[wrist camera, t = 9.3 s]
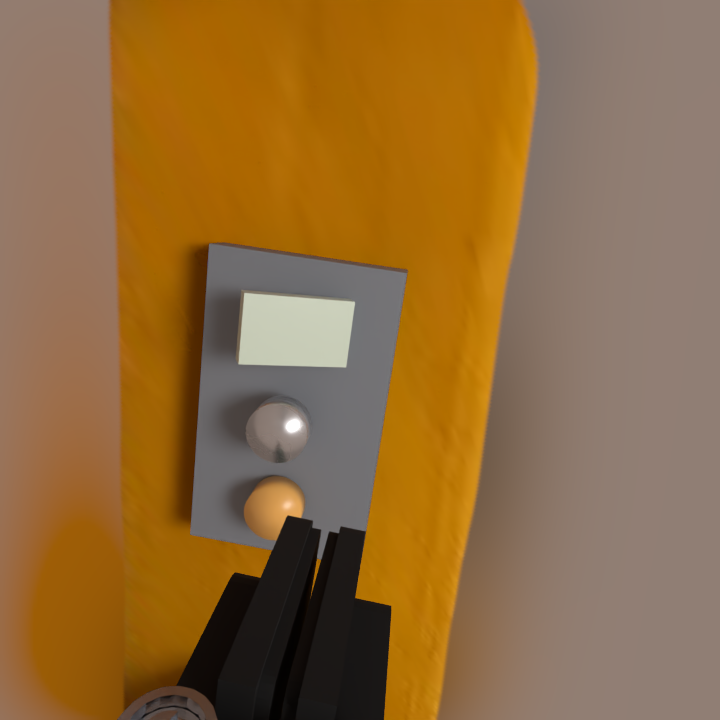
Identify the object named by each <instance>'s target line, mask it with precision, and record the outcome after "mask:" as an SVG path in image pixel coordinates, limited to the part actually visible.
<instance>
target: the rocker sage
mask: <svg viewBox="0 0 720 720" xmlns="http://www.w3.org/2000/svg"><path fill="white" fill-rule="evenodd" d="M354 307H355V302H354V301H353V300H351V299H346V298H334V297H322V296H310V295H298V294H286V293H273V292H261V291H249V290H241V301H240V313H239V325H238V337H237V350H236V361H237V363H238V364H243V365H278V366H312V367H346V365H347V358H348V350H349V343H350V336H351V328H352V321H353V314H354Z"/></svg>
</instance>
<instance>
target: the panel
mask: <svg viewBox="0 0 720 720" xmlns="http://www.w3.org/2000/svg"><path fill="white" fill-rule="evenodd" d="M407 272H408V270H405V269H398V268H391V267H385V266H378V265H371V264H365V263H358V262H351V261H345V260H338V259H331V258H324V257H318V256H311V255H304V254H298V253H291V252H284V251H277V250H271V249H264V248H257V247H251V246H244V245H237V244H230V243H210V244H209V254H208V269H207V284H206V300H205V315H204V331H203V346H202V362H201V377H200V392H199V408H198V423H197V439H196V454H195V470H194V485H193V501H192V516H191V531H190V535H195V536H200V537H205V538H211V539H216V540H221V541H227V542H232V543H237V544H242V545H248V546H253V547H258V548H263V549H269V550H273V548H274V545H275V543H276V541H277V540H267V539H264V538H261V537H259V536H258V535H256V534H255V533H254V532H253V531H252V530H251V529H250V528H249V527H248V525H247V523H246V521H245V518H244V506H245V503H246V501H247V500H248V498H249V496H250V495H251V493H252V492H253V490H254V489H255V487H256V486H257V484H258V483H259V482H260V481H262V480H263V479H265V478H267V477H271V476H282V477H286V478H288V479H290V480H292V481H294V482H295V483H296V484H297V485H298V486H299V487H300V488H301V490H302V492H303V494H304V496H305V509H304V512H303V515H302V517H301V518H303V519H308V520H313V527H312V528H316V529H321V537H320V543H319V549H318V555H317V559H322V555H323V552H324V548H325V544H326V541H327V537H328V533H329V531H331V532H336V533H339V530H340V527H341V526H342V527H347V528H352V529H357V530H361V531H366V528H367V522H368V516H369V509H370V503H371V497H372V491H373V484H374V478H375V472H376V466H377V459H378V453H379V447H380V440H381V434H382V428H383V422H384V415H385V409H386V403H387V397H388V390H389V384H390V378H391V372H392V365H393V359H394V353H395V347H396V340H397V334H398V328H399V322H400V315H401V309H402V303H403V297H404V290H405V284H406V278H407ZM241 290H249V291H261V292H273V293H286V294H298V295H310V296H322V297H334V298H346V299H351V300H353V301H354V302H355V307H354V314H353V321H352V328H351V336H350V343H349V350H348V358H347V365H346V367H312V366H278V365H243V364H238V363H237V361H236V350H237V337H238V325H239V313H240V301H241ZM280 395H283V396H289V397H292V398H295V399H297V400H298V401H300V402H301V403H302V404H303V405H304V406H305V407H306V408H307V410H308V411H309V413H310V415H311V419H312V432H311V435H310V437H309V439H308V441H307V443H306V445H305V446H304V448H303V450H302V452H301V453H300V454H299V455H298V456H297V457H296V458H294V459H293V460H291V461H288V462H285V463H272V462H269V461H266V460H264V459H262V458H260V457H259V456H258V455H256V454H255V453H254V452H253V450H252V449H251V448H250V446H249V444H248V442H247V438H246V425H247V422H248V420H249V418H250V416H251V415H252V414H253V413H254V412H255V411H256V410H257V408H258V407H259V406H260V405H261V404H262V403H263V402H264V401H265V400H267V399H269V398H271V397H274V396H280ZM365 534H366V533H365ZM364 541H365V539H364ZM363 547H364V546H363Z"/></svg>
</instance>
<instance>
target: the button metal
mask: <svg viewBox="0 0 720 720" xmlns="http://www.w3.org/2000/svg"><path fill="white" fill-rule="evenodd" d="M311 432H312V419H311V415H310V413H309V411H308V410H307V408H306V407H305V406H304V405H303V404H302V403H301V402H300V401H298V400H297V399H295V398H292V397H289V396H283V395H280V396H274V397H271V398H269V399H267V400H265V401H264V402H263V403H262V404H261V405H260V406H259V407H258V408H257V410H256V411H255V412H254V413H253V414H252V415H251V416H250V418H249V420H248V422H247V425H246V438H247V442H248V444H249V446H250V448H251V449H252V450H253V452H254V453H255V454H256V455H258V456H259V457H260V458H262V459H264V460H266V461H269V462H272V463H285V462H288V461H291V460H293V459H294V458H296V457H297V456H298V455H299V454H300V453H301V452H302V450H303V448H304V446H305V445H306V443H307V441H308V439H309V437H310V435H311Z"/></svg>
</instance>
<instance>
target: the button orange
mask: <svg viewBox="0 0 720 720" xmlns="http://www.w3.org/2000/svg"><path fill="white" fill-rule="evenodd" d="M304 509H305V496H304V494H303V492H302V490H301V488H300V487H299V486H298V485H297V484H296V483H295V482H294V481H292V480H290V479H288V478H286V477H282V476H271V477H267V478H265V479H263V480H262V481H260V482H259V483H258V484H257V486H256V487H255V489H254V490H253V492H252V493H251V495H250V496H249V498H248V500H247V501H246V503H245V506H244V518H245V521H246V523H247V525H248V527H249V528H250V529H251V530H252V531H253V532H254V533H255V534H256V535H258V536H259V537H261V538H264V539H267V540H277V538H278V536H279V533H280V531H281V529H282V526H283V524H284V522H285V519H286V517H287V516H288V515H289V516H294V517H299V518H301V517H302V515H303V512H304Z"/></svg>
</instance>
